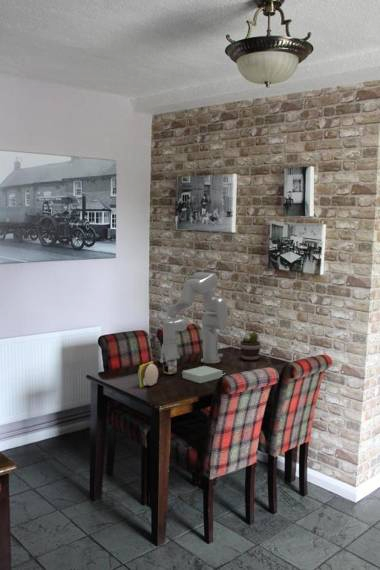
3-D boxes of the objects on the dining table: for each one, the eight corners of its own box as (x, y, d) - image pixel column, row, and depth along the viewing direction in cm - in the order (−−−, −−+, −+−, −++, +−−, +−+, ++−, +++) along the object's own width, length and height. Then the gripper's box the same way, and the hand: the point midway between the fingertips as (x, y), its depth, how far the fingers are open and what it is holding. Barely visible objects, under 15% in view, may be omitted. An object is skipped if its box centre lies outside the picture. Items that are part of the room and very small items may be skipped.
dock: (204, 372, 340) (204, 365, 340) (222, 377, 329) (222, 370, 329) (182, 377, 328) (182, 371, 328) (200, 383, 317) (200, 376, 317)
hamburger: (148, 388, 307) (148, 367, 306) (136, 386, 311) (136, 365, 310) (161, 383, 317) (160, 362, 316) (148, 381, 322) (148, 360, 320)
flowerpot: (234, 358, 373) (234, 329, 371) (252, 355, 382) (252, 326, 379) (248, 363, 361) (248, 332, 359) (266, 359, 369) (266, 330, 367)
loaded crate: (170, 370, 339) (170, 359, 338) (176, 372, 335) (176, 360, 334) (163, 372, 336) (163, 360, 335) (169, 374, 331) (169, 362, 331)
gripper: (176, 337, 341) (176, 366, 344) (154, 342, 330) (155, 372, 332) (184, 339, 336) (185, 369, 338) (162, 344, 324) (163, 375, 327)
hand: (170, 370), depth 335 cm, fingers closed on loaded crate, 5 cm apart
